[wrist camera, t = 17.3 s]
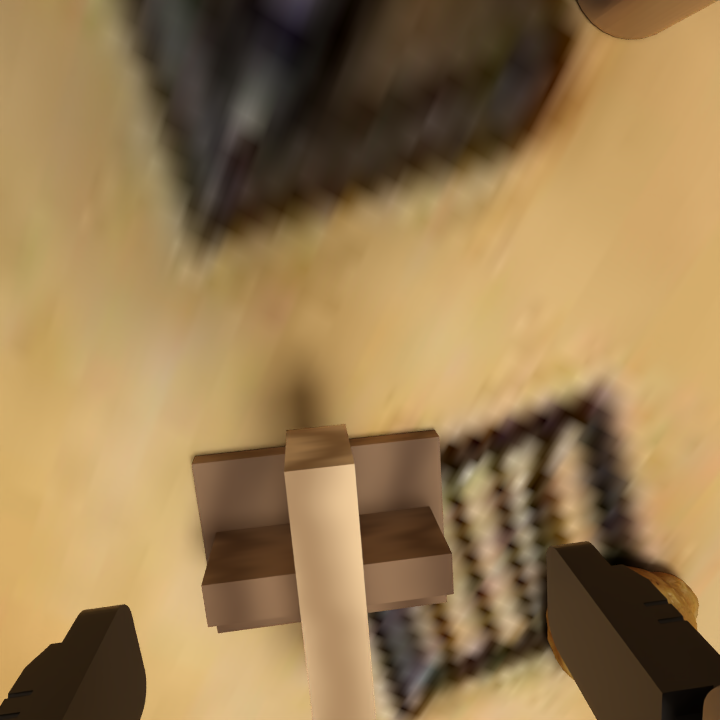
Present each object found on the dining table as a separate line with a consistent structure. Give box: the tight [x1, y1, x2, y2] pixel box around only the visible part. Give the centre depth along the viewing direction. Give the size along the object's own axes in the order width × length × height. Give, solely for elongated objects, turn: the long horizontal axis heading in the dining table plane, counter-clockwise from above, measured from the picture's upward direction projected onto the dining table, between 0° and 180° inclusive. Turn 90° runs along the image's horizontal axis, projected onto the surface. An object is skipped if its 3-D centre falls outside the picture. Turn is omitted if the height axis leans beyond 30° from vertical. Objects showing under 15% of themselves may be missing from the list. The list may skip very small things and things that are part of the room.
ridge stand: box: [192, 430, 454, 633], centre depth 40 cm, size 18×14×8 cm
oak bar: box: [284, 424, 376, 720], centre depth 34 cm, size 4×22×6 cm, turn 4°
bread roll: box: [546, 566, 699, 679], centre depth 45 cm, size 13×10×8 cm
